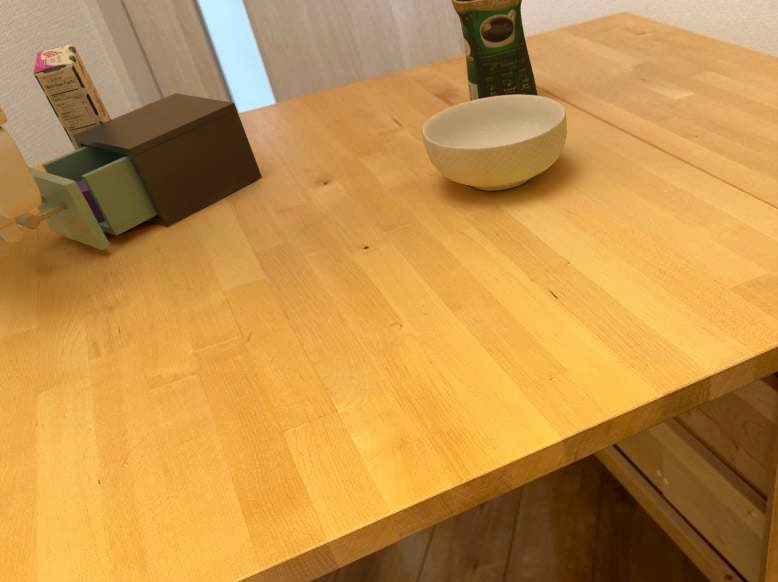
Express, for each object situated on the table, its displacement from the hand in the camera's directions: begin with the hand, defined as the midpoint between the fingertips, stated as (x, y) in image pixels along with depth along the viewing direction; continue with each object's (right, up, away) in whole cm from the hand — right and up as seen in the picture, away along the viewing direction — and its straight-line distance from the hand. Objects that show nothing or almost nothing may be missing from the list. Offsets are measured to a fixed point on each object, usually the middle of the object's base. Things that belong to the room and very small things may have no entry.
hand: (10, 238), depth 81 cm
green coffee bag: (+51, +26, +30) cm, 65 cm away
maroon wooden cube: (+3, +5, +12) cm, 13 cm away
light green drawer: (+3, +4, +12) cm, 14 cm away
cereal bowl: (+52, +10, +11) cm, 54 cm away
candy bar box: (-4, +14, +27) cm, 31 cm away
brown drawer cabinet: (+10, +10, +19) cm, 24 cm away
